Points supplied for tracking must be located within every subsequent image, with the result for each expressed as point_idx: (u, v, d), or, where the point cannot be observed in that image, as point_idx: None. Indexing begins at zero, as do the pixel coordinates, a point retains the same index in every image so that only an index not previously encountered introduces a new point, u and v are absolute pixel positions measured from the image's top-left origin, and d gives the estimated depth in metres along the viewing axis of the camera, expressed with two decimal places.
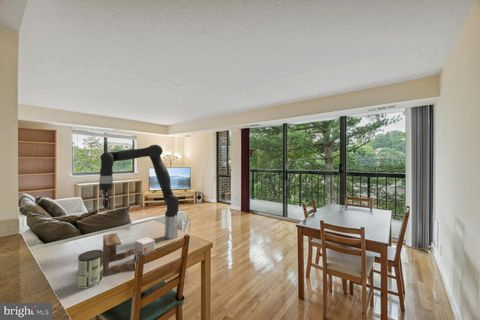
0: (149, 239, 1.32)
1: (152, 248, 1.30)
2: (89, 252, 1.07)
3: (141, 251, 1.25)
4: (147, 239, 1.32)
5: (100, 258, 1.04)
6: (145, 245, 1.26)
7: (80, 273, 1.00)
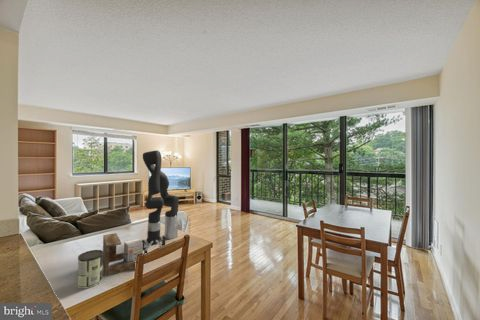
0: (138, 241, 1.28)
1: (139, 251, 1.25)
2: (89, 252, 1.07)
3: (127, 253, 1.22)
4: (136, 241, 1.28)
5: (100, 258, 1.04)
6: (131, 247, 1.22)
7: (80, 273, 1.00)
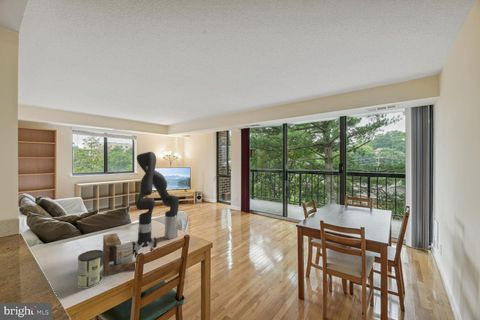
0: (128, 243, 1.24)
1: (129, 253, 1.22)
2: (89, 252, 1.07)
3: (116, 255, 1.19)
4: (126, 243, 1.25)
5: (100, 258, 1.04)
6: (120, 249, 1.19)
7: (80, 273, 1.00)
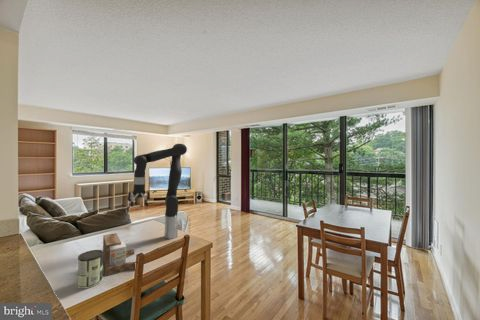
0: (121, 245, 1.22)
1: (122, 255, 1.20)
2: (89, 252, 1.07)
3: (109, 257, 1.17)
4: None
5: (100, 258, 1.04)
6: (113, 251, 1.17)
7: (80, 273, 1.00)
